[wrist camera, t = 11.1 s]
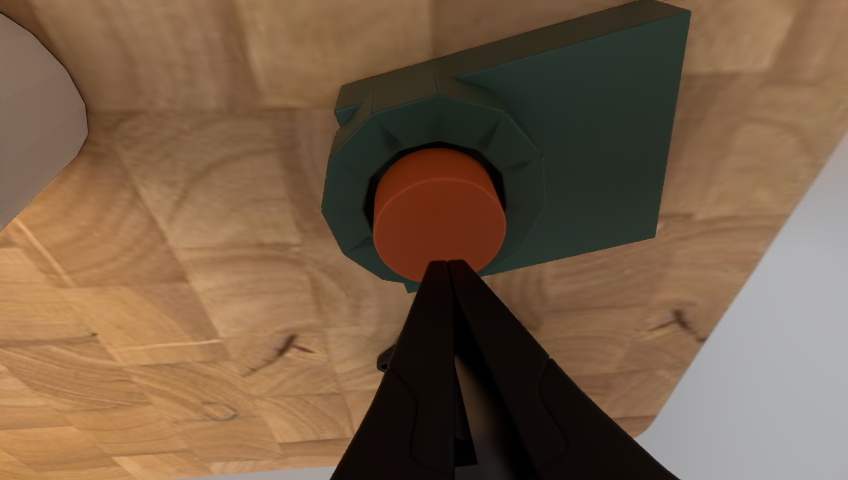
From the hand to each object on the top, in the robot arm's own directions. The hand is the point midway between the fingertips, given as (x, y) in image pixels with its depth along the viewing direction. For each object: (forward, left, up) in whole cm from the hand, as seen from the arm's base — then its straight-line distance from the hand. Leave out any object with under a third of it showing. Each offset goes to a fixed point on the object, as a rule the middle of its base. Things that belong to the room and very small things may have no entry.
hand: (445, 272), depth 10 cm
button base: (-2, -2, -7) cm, 7 cm away
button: (0, 0, -3) cm, 3 cm away
